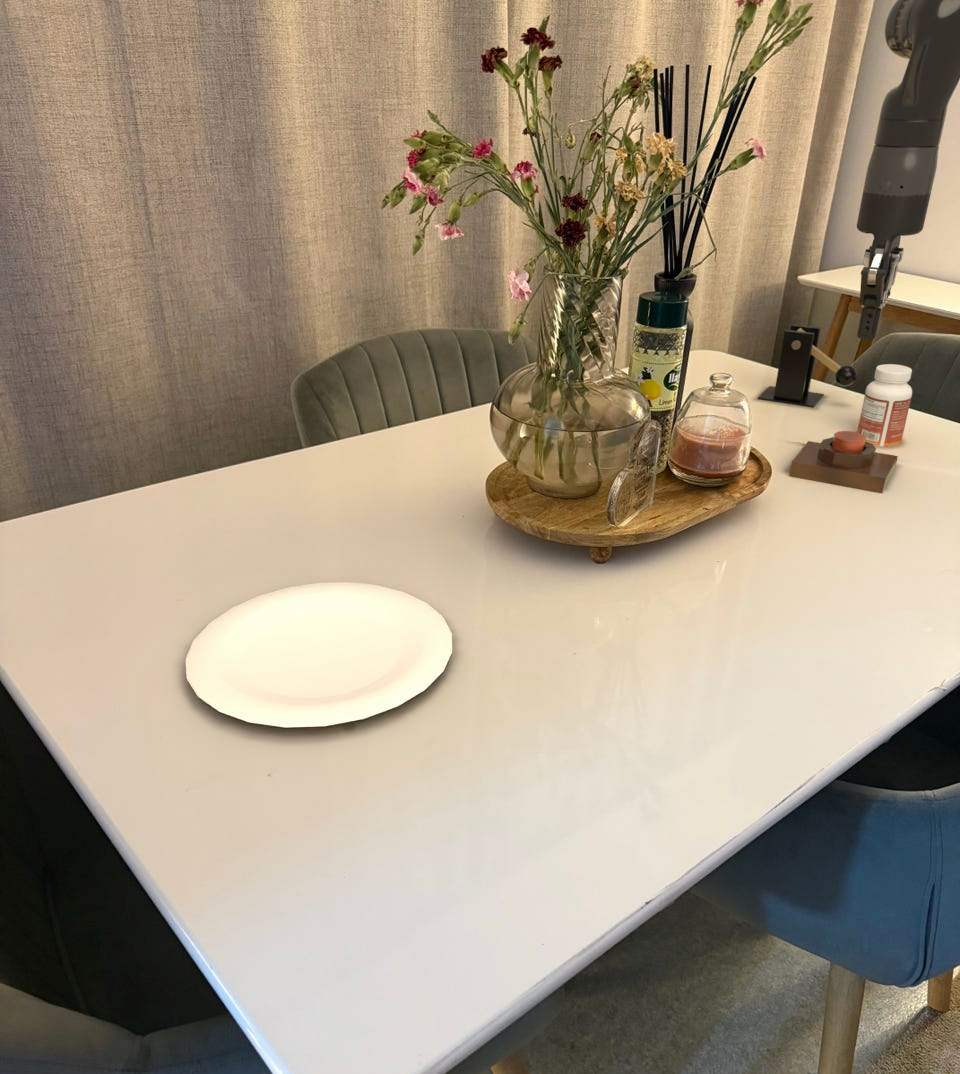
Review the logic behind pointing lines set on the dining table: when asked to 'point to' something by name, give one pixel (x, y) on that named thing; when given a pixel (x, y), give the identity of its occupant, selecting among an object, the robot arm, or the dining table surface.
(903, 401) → the pill bottle
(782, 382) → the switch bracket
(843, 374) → the switch lever
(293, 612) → the plate
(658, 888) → the dining table surface
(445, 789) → the dining table surface
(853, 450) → the button
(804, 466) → the switch box
